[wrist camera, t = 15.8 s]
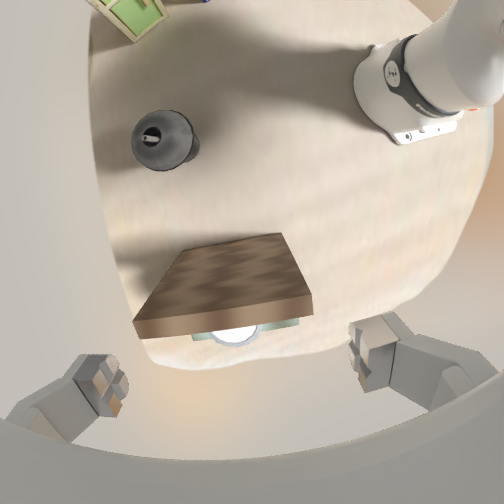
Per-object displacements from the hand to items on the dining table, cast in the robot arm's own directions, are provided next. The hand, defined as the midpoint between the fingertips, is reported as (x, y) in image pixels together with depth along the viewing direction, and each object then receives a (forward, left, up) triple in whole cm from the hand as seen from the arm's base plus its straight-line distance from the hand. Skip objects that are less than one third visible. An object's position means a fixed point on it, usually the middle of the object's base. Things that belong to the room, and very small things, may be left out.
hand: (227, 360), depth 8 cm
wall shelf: (+3, +11, -35) cm, 37 cm away
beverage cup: (+7, -11, -35) cm, 38 cm away
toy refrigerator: (+11, -37, -35) cm, 52 cm away
